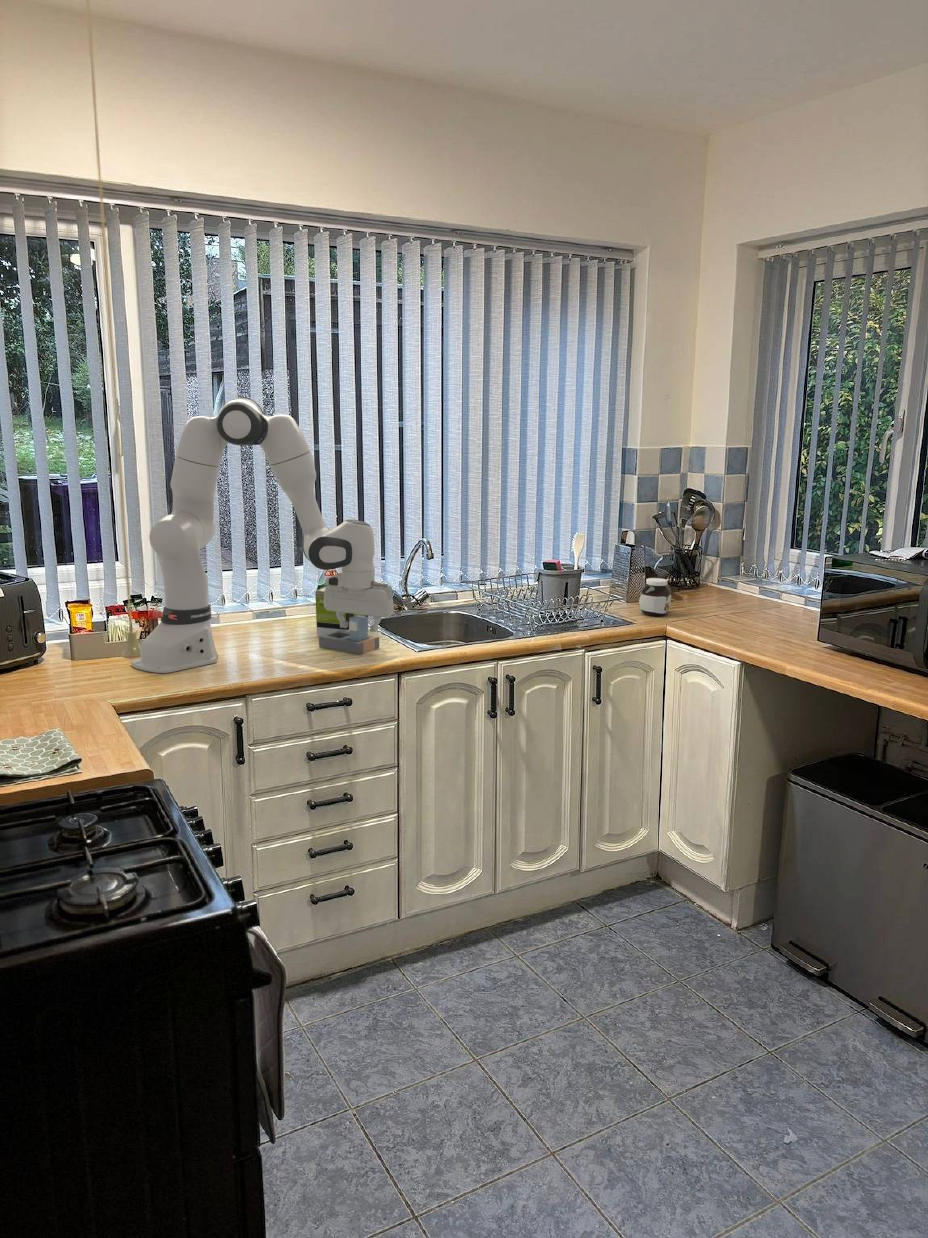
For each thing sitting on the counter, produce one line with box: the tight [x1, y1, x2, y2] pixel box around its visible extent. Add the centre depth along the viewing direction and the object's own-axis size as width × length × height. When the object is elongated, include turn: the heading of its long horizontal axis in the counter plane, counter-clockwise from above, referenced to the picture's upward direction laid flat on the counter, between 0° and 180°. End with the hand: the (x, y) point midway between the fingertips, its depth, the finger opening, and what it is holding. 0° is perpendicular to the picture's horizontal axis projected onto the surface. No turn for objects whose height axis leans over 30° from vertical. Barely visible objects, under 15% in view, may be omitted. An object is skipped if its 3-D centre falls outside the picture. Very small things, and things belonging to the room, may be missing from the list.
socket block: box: [318, 630, 380, 656], centre depth 258 cm, size 9×14×4 cm, turn 58°
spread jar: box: [638, 577, 672, 618], centre depth 310 cm, size 12×11×12 cm
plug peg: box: [349, 615, 369, 642], centre depth 255 cm, size 4×4×9 cm
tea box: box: [314, 585, 369, 637], centre depth 274 cm, size 15×10×15 cm
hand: (358, 629), depth 255 cm, fingers open, 8 cm apart
